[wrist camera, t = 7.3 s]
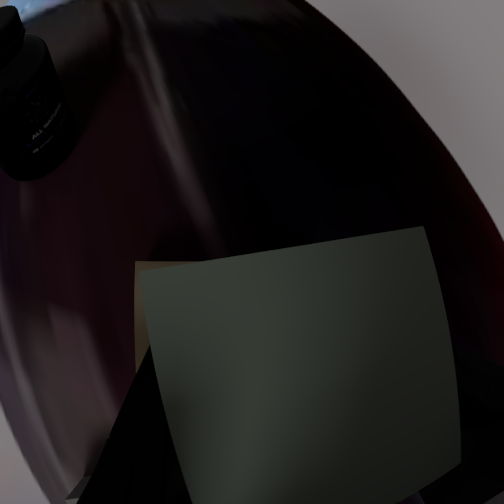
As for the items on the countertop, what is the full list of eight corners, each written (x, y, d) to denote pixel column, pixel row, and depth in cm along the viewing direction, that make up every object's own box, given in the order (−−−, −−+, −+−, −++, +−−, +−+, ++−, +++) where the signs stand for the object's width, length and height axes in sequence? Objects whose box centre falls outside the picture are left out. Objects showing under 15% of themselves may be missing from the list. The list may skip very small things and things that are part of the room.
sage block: (293, 393, 14) (461, 462, 4) (199, 414, 13) (216, 563, 3) (273, 302, 15) (423, 226, 5) (178, 320, 14) (139, 271, 4)
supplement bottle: (77, 172, 20) (11, 45, 8) (0, 193, 18) (-88, 99, 7) (81, 101, 21) (45, -18, 10) (11, 123, 19) (-45, 23, 8)
